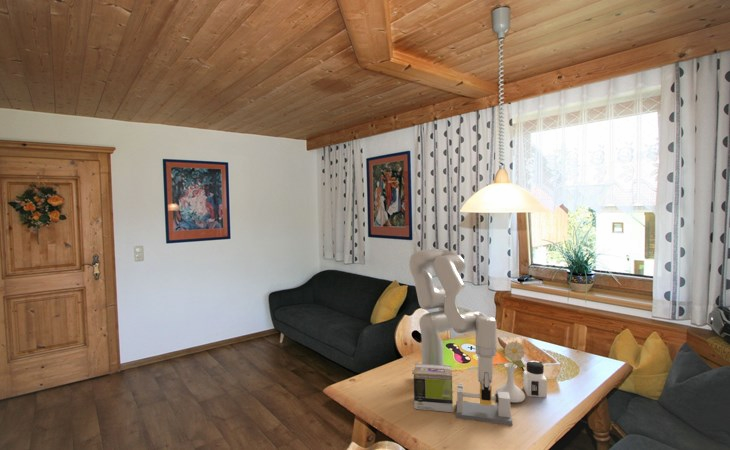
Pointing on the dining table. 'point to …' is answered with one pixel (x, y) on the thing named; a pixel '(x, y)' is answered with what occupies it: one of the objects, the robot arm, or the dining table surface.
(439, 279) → the robot arm
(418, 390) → the tea box
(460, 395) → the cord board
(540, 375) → the container
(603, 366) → the dining table surface
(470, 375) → the dining table surface
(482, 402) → the sleeve
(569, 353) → the dining table surface
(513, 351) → the flower in vase
